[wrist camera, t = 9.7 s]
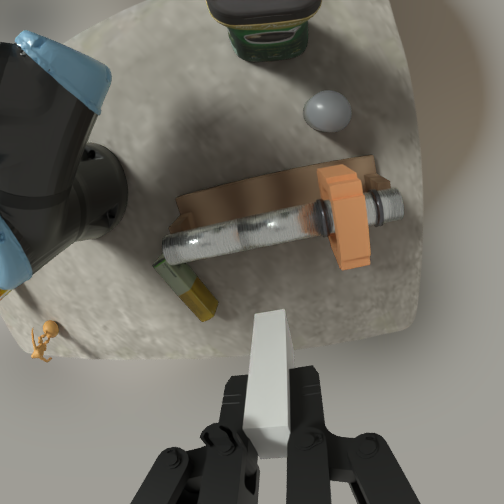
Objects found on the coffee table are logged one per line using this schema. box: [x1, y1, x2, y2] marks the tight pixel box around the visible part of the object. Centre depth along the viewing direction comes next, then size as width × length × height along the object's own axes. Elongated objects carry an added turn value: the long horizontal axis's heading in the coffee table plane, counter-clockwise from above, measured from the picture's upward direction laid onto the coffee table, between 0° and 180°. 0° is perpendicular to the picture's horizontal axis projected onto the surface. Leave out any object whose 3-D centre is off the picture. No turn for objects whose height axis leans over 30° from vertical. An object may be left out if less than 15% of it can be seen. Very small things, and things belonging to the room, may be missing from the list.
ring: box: [316, 164, 371, 270], centre depth 30 cm, size 3×10×10 cm, turn 14°
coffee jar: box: [206, 0, 322, 62], centre depth 21 cm, size 10×8×19 cm
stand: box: [169, 155, 391, 234], centre depth 36 cm, size 27×9×7 cm, turn 104°
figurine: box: [31, 320, 59, 362], centre depth 48 cm, size 8×6×12 cm
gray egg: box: [303, 90, 352, 132], centre depth 30 cm, size 5×5×6 cm
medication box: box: [152, 253, 219, 322], centre depth 43 cm, size 12×3×4 cm, turn 34°
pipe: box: [162, 188, 404, 265], centre depth 31 cm, size 27×4×4 cm, turn 104°
